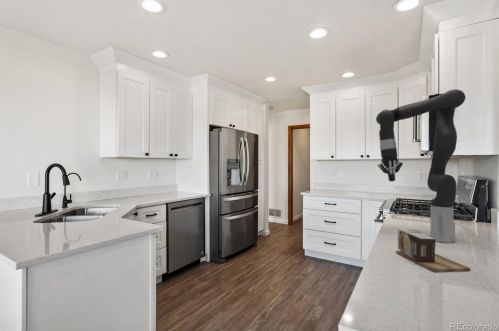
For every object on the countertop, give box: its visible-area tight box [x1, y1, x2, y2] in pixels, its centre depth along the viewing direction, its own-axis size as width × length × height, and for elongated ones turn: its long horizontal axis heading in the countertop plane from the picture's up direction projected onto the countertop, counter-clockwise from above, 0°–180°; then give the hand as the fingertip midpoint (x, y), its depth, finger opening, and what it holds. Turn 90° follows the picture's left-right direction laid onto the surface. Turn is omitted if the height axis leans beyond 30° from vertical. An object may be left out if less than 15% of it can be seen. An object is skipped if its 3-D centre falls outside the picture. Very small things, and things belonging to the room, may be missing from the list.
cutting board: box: [395, 250, 471, 273], centre depth 102 cm, size 14×20×1 cm
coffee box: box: [397, 227, 436, 263], centre depth 106 cm, size 9×6×16 cm
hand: (392, 181), depth 137 cm, fingers closed
